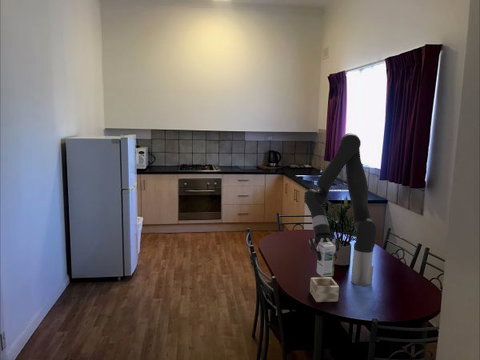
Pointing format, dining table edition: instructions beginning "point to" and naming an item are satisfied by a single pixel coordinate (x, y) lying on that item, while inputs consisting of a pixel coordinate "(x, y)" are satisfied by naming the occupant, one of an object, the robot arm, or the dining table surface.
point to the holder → (324, 289)
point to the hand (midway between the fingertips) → (327, 260)
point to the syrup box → (326, 259)
